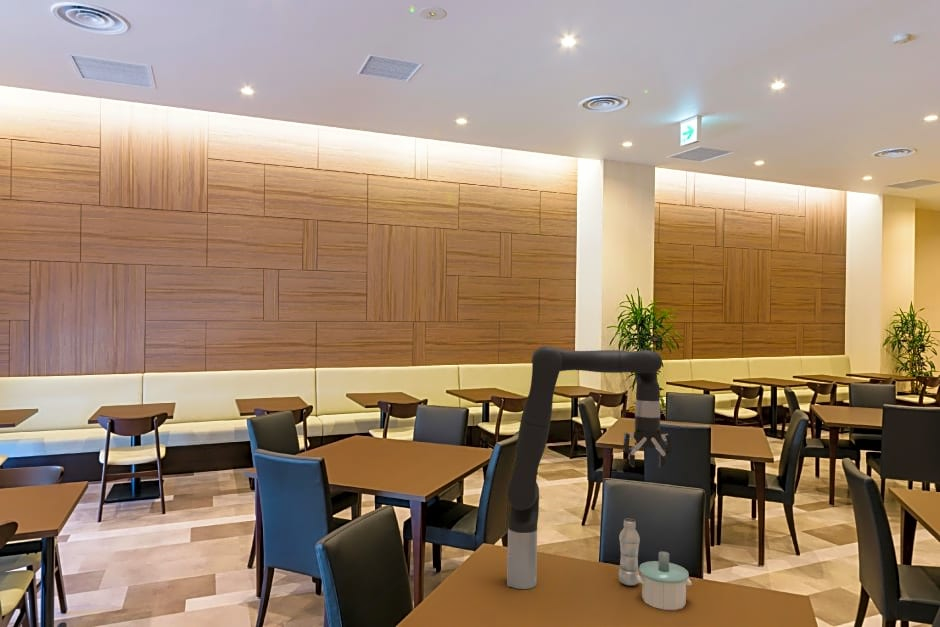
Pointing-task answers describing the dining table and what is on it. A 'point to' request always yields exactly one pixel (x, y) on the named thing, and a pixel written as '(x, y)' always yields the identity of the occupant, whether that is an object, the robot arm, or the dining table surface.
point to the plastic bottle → (629, 553)
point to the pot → (664, 593)
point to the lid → (663, 570)
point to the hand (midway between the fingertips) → (646, 467)
